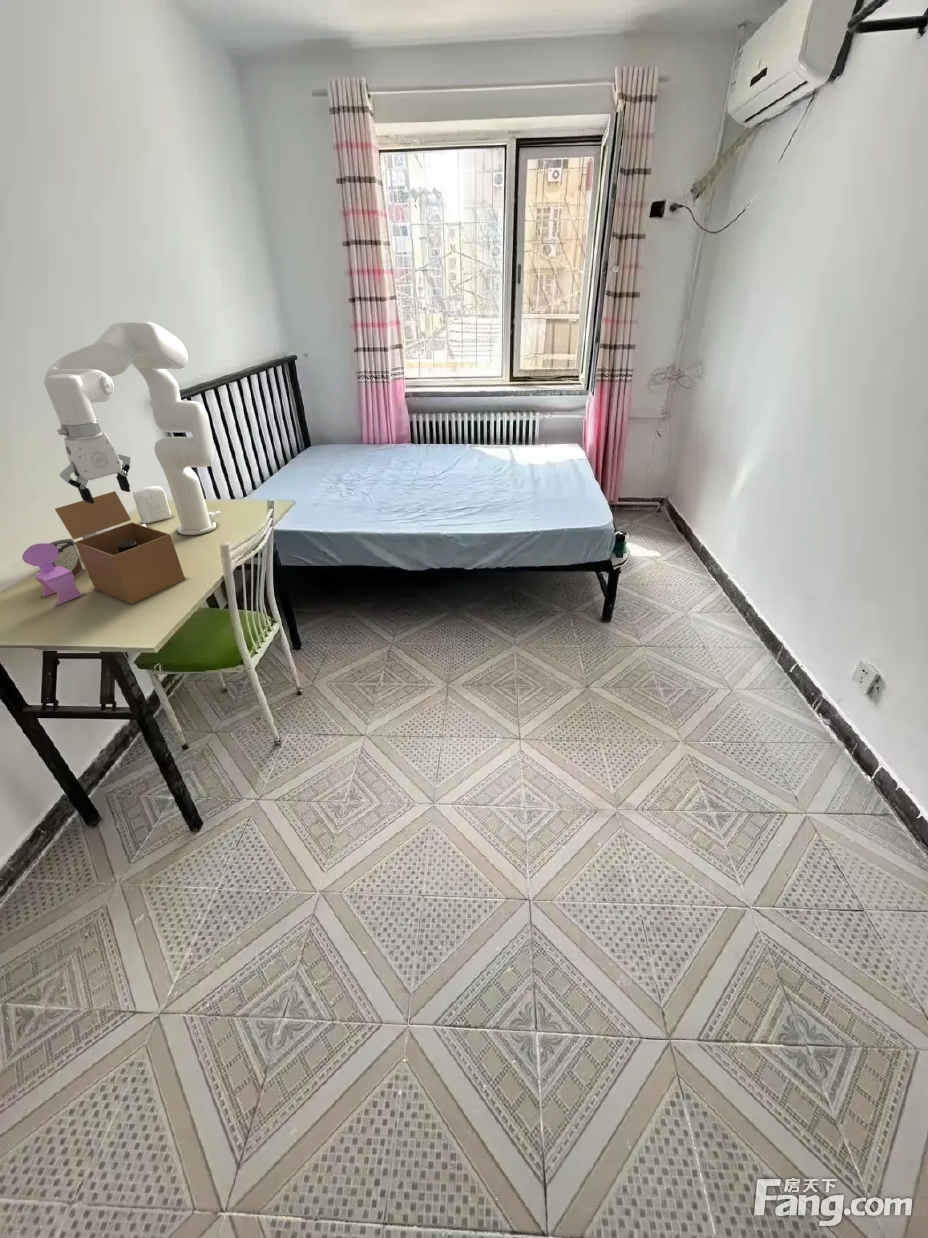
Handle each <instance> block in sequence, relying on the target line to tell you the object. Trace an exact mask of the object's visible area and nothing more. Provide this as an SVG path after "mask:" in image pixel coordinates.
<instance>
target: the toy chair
mask: <svg viewBox="0 0 928 1238" xmlns="http://www.w3.org/2000/svg"><path fill="white" fill-rule="evenodd" d="M57 556H58V548H57V547H56V546H55V545H53V544H48V543H46V542H45V543H44V542H43V543H34V544H32V545H30V546H29V547H27V548H26V549H25V551H24V552H23V554H22V560H23V562H24V563H25V564H27V565H30V566H32V567H38V568H39V570H40V572H37V573H34V574H33V576H34V577H35V580H36V581H38V582H39V583H40V584H41V585H42V589H43V594H42V596H43V598H45V597H47V596H50V595H53V594H57V603H56V604H57V606H58V605H61V604H64V603H66V602H69V601H71V600H73V599H77V598H78V597H81V596H83V593H81V592H80V591H79V589H77V587H76V586H77V585H76V582H75V579H76V578H74V575H73V574H72V571H70V570H68V569H65V568H64V567H62V566H57V567H54V566H53V561H55V560H56V559H57Z"/></svg>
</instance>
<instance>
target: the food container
mask: <svg viewBox="0 0 928 1238" xmlns="http://www.w3.org/2000/svg"><path fill="white" fill-rule="evenodd" d="M75 542H76V541H74V540H73V538H65V539H58V540H55V541H52V542H49V543H47V544H53V545H55V546H56V547H57V548H58V556H57V559H56V560H55V561H53V566H54V567H57V566H62V567H64V568H65V569H68V570H70V571H72V574H73V575H74V579H76V578H77V577H78V576H79V575H80V574H81V573H83V572H84V568H83V565H82V562H81V558H80V555H79V554H78V553H79V552H78V550H77V547H76V544H75Z"/></svg>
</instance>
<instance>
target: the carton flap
mask: <svg viewBox="0 0 928 1238" xmlns="http://www.w3.org/2000/svg"><path fill="white" fill-rule="evenodd" d="M92 498H93V500H94V503H93V504H90V503H87V502H85V501H84V500H83V499H82V500H80V501H77V502H74V503H69V504H66V505H64V506H60V507H57V508H54V510H55V512H56V514H57V516H58V517H59V519H60V520H61V522H62V523H63V525H64V527H65V529H66V531H67V532H68V534H69V535H70V537H71V539H72V540H73V541H74V540H78V539H81V538H82V537H83V536H86V535H89V534H92V533H95V532H98V531H101V530H104V529H107V528H109V527H112V526H115V527H116V526H118V525H121V524H124V523H127V522H130V521H132V519H131V516H130V515H129V513H128V512H127V509H126V508H125V506H124V504H123V503H122V501H121V499H120V497H119V495H118V493H117V492H116V491H115V490H113V491H111V492H107V493H104V494H100V495H97V496H94V497H93V496H92Z"/></svg>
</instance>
